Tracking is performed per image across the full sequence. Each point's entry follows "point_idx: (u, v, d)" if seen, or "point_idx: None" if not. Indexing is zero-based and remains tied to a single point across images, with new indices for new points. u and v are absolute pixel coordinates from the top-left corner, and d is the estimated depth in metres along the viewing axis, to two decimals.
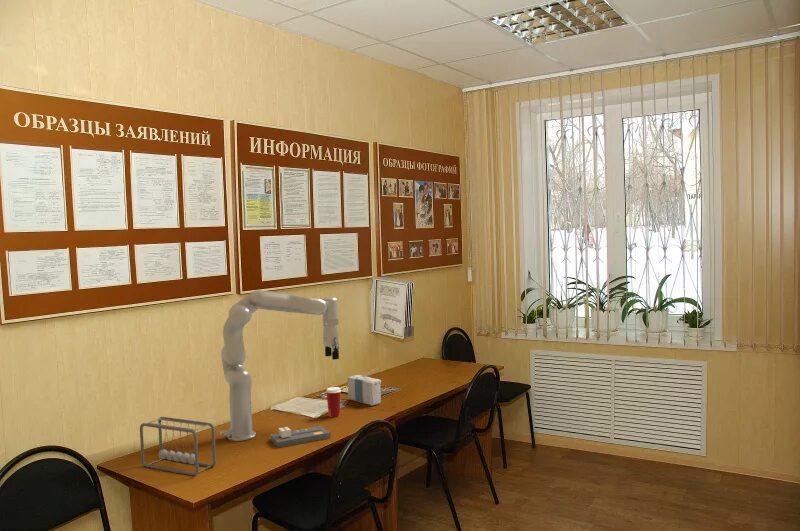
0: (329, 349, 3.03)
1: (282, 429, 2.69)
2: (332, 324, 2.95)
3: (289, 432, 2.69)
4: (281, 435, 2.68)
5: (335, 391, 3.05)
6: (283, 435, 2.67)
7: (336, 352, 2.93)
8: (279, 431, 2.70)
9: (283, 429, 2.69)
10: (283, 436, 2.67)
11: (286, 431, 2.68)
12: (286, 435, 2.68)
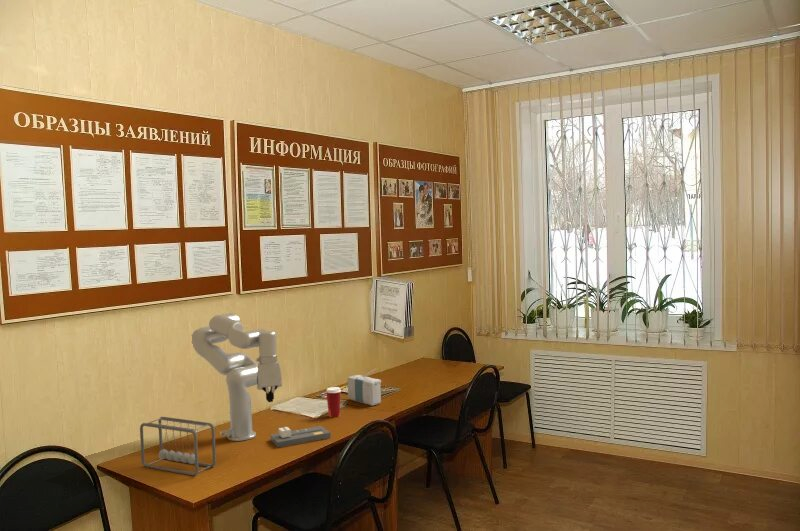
0: None
1: (282, 429, 2.69)
2: None
3: (289, 432, 2.69)
4: (281, 435, 2.68)
5: (335, 391, 3.05)
6: (283, 435, 2.67)
7: None
8: (279, 431, 2.70)
9: (283, 429, 2.69)
10: (283, 436, 2.67)
11: (286, 431, 2.68)
12: (286, 435, 2.68)
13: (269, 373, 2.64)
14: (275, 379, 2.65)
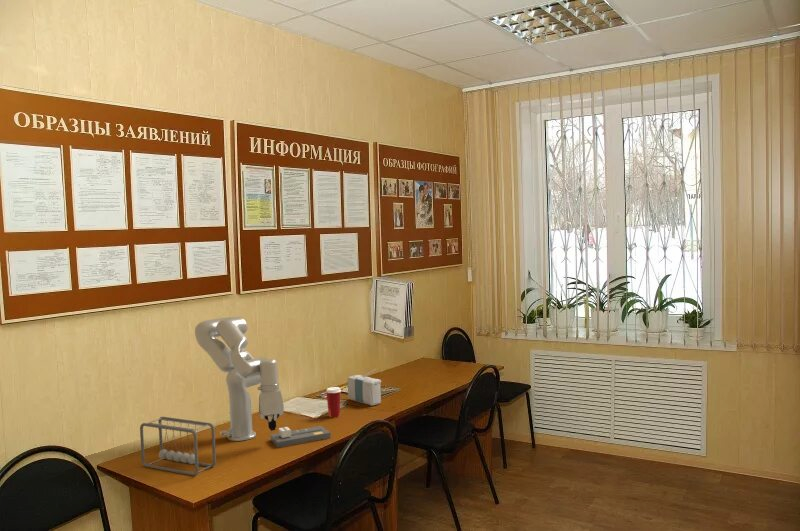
0: None
1: (282, 429, 2.69)
2: None
3: (289, 432, 2.69)
4: (281, 435, 2.68)
5: (335, 391, 3.05)
6: (283, 435, 2.67)
7: None
8: (279, 431, 2.70)
9: (283, 429, 2.69)
10: (283, 436, 2.67)
11: (286, 431, 2.68)
12: (286, 435, 2.68)
13: (271, 401, 2.64)
14: (277, 407, 2.65)
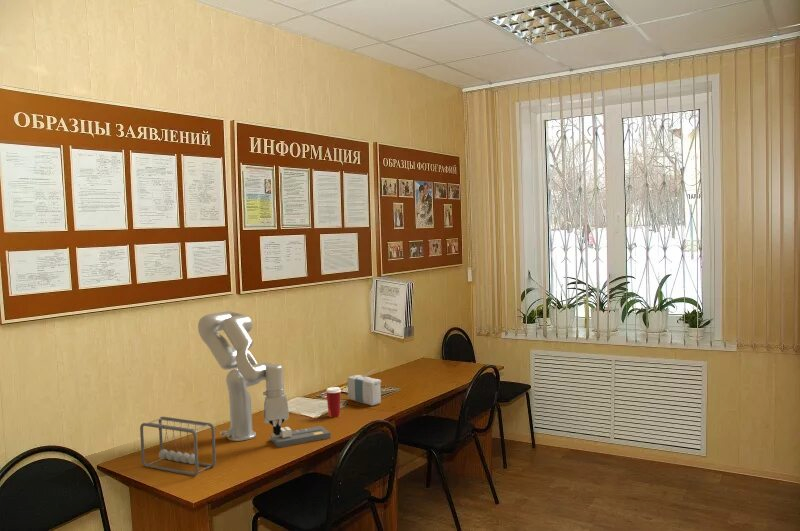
0: None
1: (283, 429, 2.70)
2: None
3: (290, 432, 2.69)
4: (282, 435, 2.68)
5: (335, 391, 3.05)
6: (284, 435, 2.67)
7: None
8: None
9: (284, 429, 2.70)
10: (284, 436, 2.67)
11: (287, 431, 2.68)
12: (287, 435, 2.68)
13: (276, 407, 2.65)
14: (282, 412, 2.66)
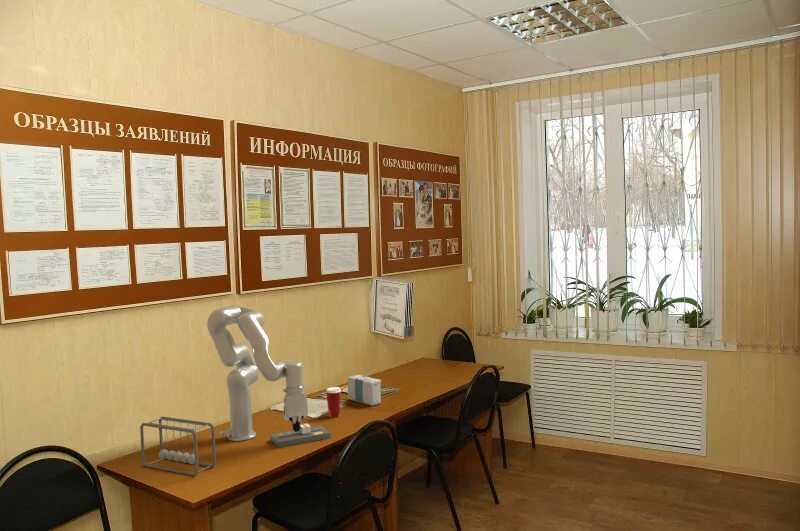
0: None
1: (302, 426, 2.74)
2: None
3: (309, 428, 2.73)
4: (301, 431, 2.72)
5: (335, 391, 3.05)
6: (303, 431, 2.71)
7: None
8: None
9: (303, 426, 2.74)
10: (303, 432, 2.71)
11: (306, 427, 2.72)
12: (306, 431, 2.72)
13: (296, 404, 2.69)
14: (302, 409, 2.70)
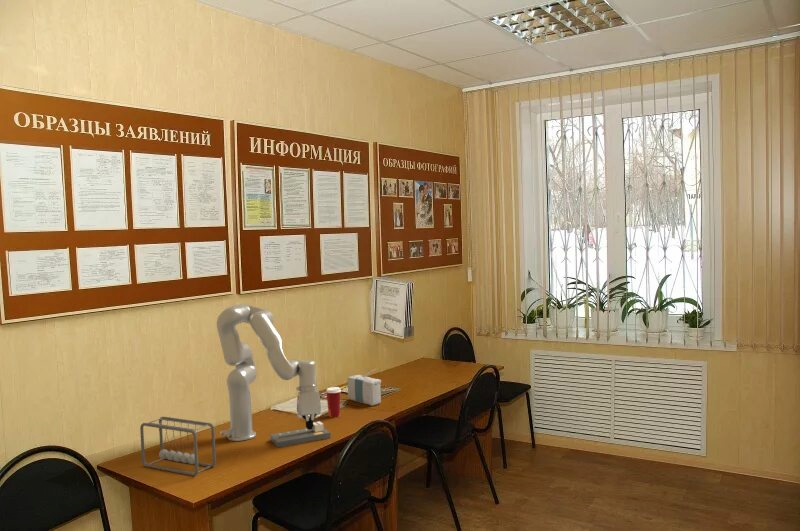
0: None
1: (315, 423, 2.76)
2: None
3: (322, 426, 2.75)
4: (314, 429, 2.75)
5: (335, 391, 3.05)
6: (316, 429, 2.74)
7: None
8: None
9: (316, 423, 2.76)
10: (316, 430, 2.74)
11: (319, 425, 2.75)
12: (319, 429, 2.75)
13: (309, 402, 2.72)
14: (315, 407, 2.73)
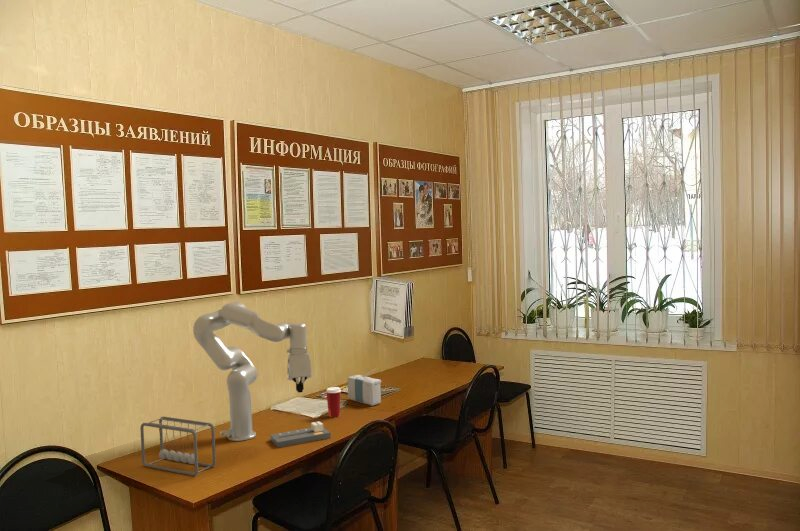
0: None
1: (315, 423, 2.76)
2: None
3: (322, 426, 2.75)
4: (314, 429, 2.75)
5: (335, 391, 3.05)
6: (316, 429, 2.74)
7: None
8: (312, 425, 2.77)
9: (316, 423, 2.76)
10: (316, 430, 2.74)
11: (319, 425, 2.75)
12: (319, 429, 2.75)
13: (299, 364, 2.70)
14: (305, 370, 2.72)
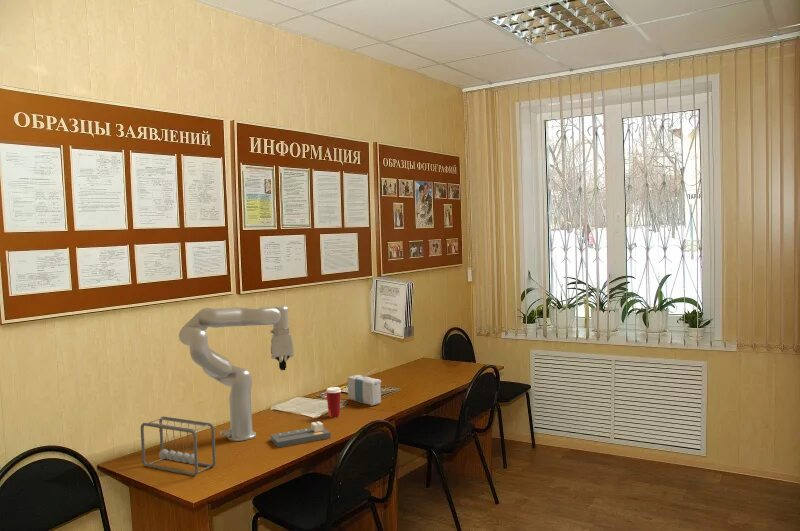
0: None
1: (315, 423, 2.76)
2: None
3: (322, 426, 2.75)
4: (314, 429, 2.75)
5: (335, 391, 3.05)
6: (316, 429, 2.74)
7: None
8: (312, 425, 2.77)
9: (316, 423, 2.76)
10: (316, 430, 2.74)
11: (319, 425, 2.75)
12: (319, 429, 2.75)
13: (282, 344, 2.91)
14: (287, 349, 2.92)
